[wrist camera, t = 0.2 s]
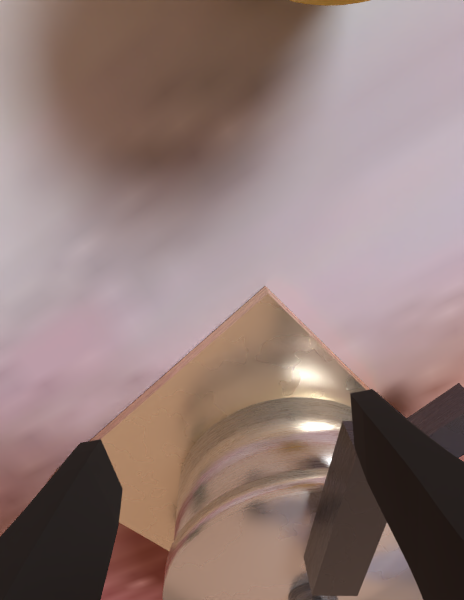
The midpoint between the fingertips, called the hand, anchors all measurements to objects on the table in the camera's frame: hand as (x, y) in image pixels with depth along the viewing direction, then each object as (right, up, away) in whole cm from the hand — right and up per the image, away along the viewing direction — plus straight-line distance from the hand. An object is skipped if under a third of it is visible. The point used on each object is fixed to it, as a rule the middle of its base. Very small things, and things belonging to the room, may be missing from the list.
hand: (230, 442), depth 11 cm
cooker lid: (+4, -8, +8) cm, 12 cm away
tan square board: (+3, -6, +14) cm, 16 cm away
